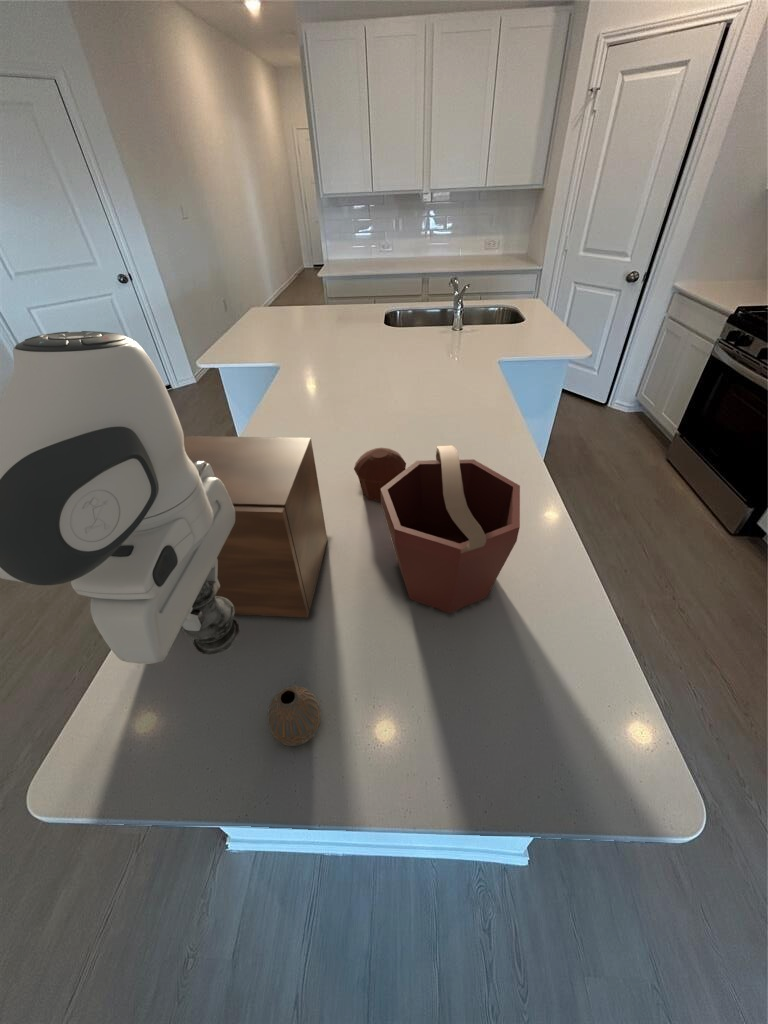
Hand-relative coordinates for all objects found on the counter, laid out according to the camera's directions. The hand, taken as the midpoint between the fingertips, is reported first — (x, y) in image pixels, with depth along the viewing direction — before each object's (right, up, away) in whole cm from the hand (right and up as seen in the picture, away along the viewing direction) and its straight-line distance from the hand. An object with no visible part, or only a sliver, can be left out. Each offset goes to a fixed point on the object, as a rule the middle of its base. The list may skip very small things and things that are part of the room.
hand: (203, 608), depth 49 cm
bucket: (+31, -1, +33) cm, 45 cm away
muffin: (+19, +16, +53) cm, 59 cm away
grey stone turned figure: (0, -4, +3) cm, 5 cm away
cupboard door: (-6, -8, +26) cm, 28 cm away
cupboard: (-5, 0, +35) cm, 36 cm away
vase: (+8, -19, +12) cm, 24 cm away
